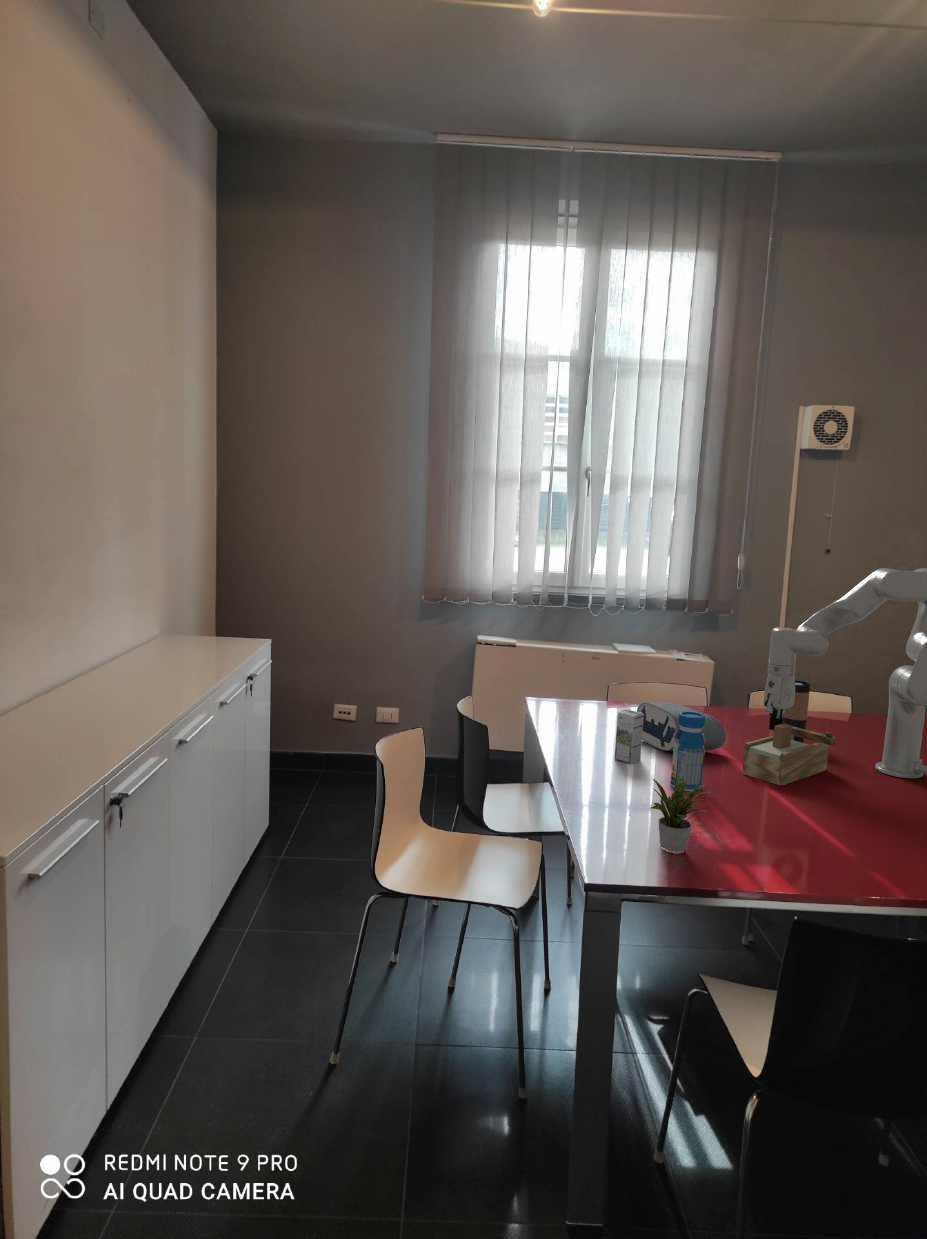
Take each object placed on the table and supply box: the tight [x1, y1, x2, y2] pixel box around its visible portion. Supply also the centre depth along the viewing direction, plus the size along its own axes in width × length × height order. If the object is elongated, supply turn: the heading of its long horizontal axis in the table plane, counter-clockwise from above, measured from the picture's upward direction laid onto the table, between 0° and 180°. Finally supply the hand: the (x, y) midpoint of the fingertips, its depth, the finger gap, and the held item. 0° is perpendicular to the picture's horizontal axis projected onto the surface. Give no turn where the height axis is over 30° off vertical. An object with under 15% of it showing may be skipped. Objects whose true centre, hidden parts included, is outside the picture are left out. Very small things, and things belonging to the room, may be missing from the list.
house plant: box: [649, 777, 713, 851], centre depth 185 cm, size 14×14×16 cm
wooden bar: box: [791, 726, 837, 746], centre depth 251 cm, size 18×2×3 cm, turn 40°
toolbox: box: [741, 734, 830, 786], centre depth 246 cm, size 12×25×9 cm, turn 130°
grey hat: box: [636, 702, 727, 752], centre depth 267 cm, size 22×19×13 cm
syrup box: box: [613, 708, 644, 765], centre depth 249 cm, size 6×6×14 cm
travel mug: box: [782, 679, 811, 743], centre depth 276 cm, size 8×8×20 cm
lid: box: [749, 724, 810, 760], centre depth 243 cm, size 9×18×7 cm, turn 130°
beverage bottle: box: [669, 712, 706, 792], centre depth 228 cm, size 8×8×20 cm
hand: (775, 730), depth 254 cm, fingers closed
